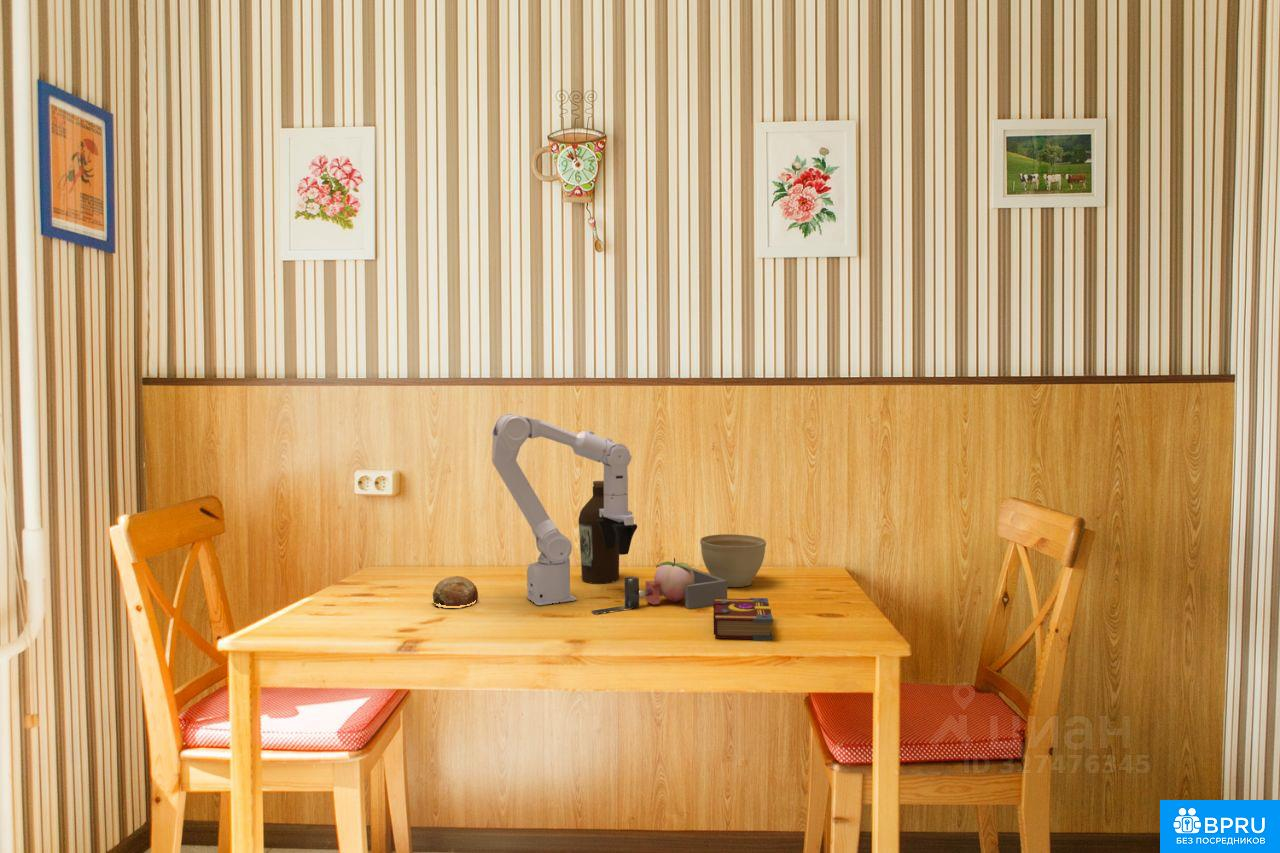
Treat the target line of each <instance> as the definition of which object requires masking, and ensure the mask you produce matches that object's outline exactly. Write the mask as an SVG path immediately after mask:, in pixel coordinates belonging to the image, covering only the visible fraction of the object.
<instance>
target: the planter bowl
mask: <svg viewBox="0 0 1280 853" xmlns="http://www.w3.org/2000/svg"><path fill="white" fill-rule="evenodd" d="M699 543H700V548H701V550H700V551H701V557H702V560H703V563H704V566H705V567H706V569H707V573H708V574H710V575H713V576H716V577H718V578H721V579H724V580H726V581H727V588H743V587H748V586H752V583H753V579H754V578H755V577H756V575H757V574H758V572H759V570H760V569H761V567H762V564H763V562H764V559H765V554H766V553H765V552H766V546H767V540H766V539H764V538H762V537H759V536H756V535H755V536H754V535H747V534H737V533H736V534H735V533H734V534H731V533H724V534H723V533H721V534H719V533H718V534H709V535H705V536H702V537H701V538H700V539H699Z"/></svg>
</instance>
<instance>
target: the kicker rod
mask: <svg viewBox="0 0 1280 853" xmlns="http://www.w3.org/2000/svg"><path fill="white" fill-rule="evenodd" d="M623 579H624V580H623V582H624V584H623V585H624V606H626V607H632V608H637V607H639V606H640V598H643V597H645V601H646V602H647V603H649V604H651V605H653V606H654V605H659V604H661V602H660V601H661V600H660V599H661V598H660V597H661V595H660V584H658V583H656V582H654V580H646V581H645V589H643V590H642V589H641V590H640V578H639V577H638V576H626V577H624V578H623Z"/></svg>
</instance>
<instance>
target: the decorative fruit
mask: <svg viewBox="0 0 1280 853" xmlns="http://www.w3.org/2000/svg"><path fill="white" fill-rule="evenodd" d="M655 568H657V570H656V571H655V573H654V576H653V578H654V579H653V581H654V582H656V583H658V584H660V593H661V594H662V595H661V596H663V597H665V598H666V599H668V600H669V601H670V602H674V603H676V602H679V601H680V600H683V599H685V585H691V584H694V573H693V570H692V568H693V567H692V566H691V565H690V564H688V563H686V562H676V558H675V557H673V562H672V561H663V562H659V563H658V564H657V565H656V566H655Z"/></svg>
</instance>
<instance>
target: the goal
mask: <svg viewBox="0 0 1280 853" xmlns="http://www.w3.org/2000/svg"><path fill="white" fill-rule="evenodd" d="M691 568H692V570H693V573H694V584H691V585H685V598H684V599H685V602H684V606H685V609H687V610H691V609H698V608H704V607H710V606H714V601H715V598H726V599H728V587H727V581H726V580H724V579H721V578H718V577H716V576H713V575H711V574H710V573H709V572H705V571H702V570H699V569H697V568H694V567H691ZM660 596H662V595H661V593H660Z"/></svg>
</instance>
